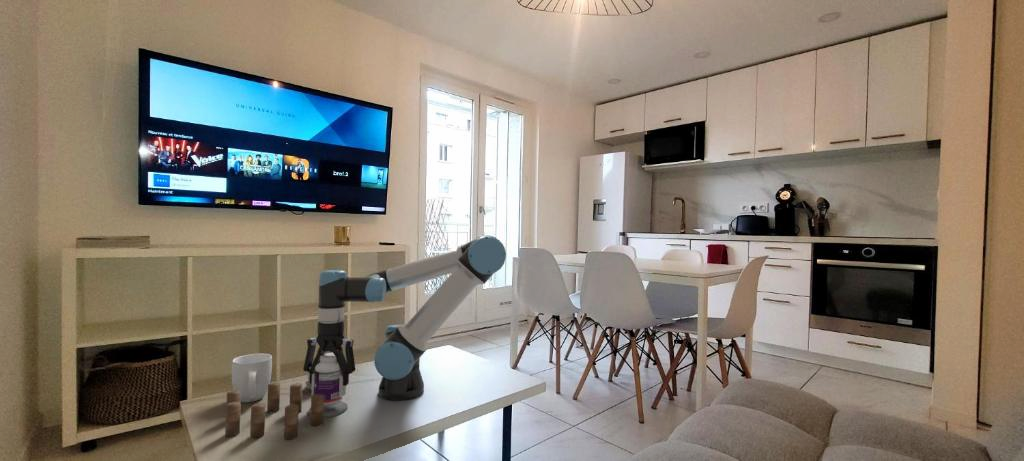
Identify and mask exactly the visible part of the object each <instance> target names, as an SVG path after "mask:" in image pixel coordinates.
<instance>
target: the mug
mask: <svg viewBox="0 0 1024 461" xmlns="http://www.w3.org/2000/svg"><path fill="white" fill-rule="evenodd" d="M231 364H232V365H231V385H232V391H233V390H240V402H241V403H252V402H257V401H260V400H261V399H263V397H264V396H265V395H266V393H268V384H270V383H271V379H272V369H273V367H272V366H273V356H272V354H270V353H261V352H260V353H250V354H245V355H241V356H237V357H235V358H234V359H233V360H232V361H231Z"/></svg>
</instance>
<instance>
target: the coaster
mask: <svg viewBox="0 0 1024 461" xmlns="http://www.w3.org/2000/svg"><path fill="white" fill-rule="evenodd" d="M348 406H349V405H348V403H347V402H344V401H342V400H341V401H340V402H339V403H337V404H335V405H331V406H323V419H326V418H332V417H333V418H334V417H337V416H341V415H342V414H344V413H345V412H347V410H348ZM307 414H308V416H309V417H311V407H309V409H308V410H307Z"/></svg>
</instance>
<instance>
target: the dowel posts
mask: <svg viewBox="0 0 1024 461" xmlns="http://www.w3.org/2000/svg"><path fill="white" fill-rule="evenodd" d="M310 396H311V395H310ZM302 397H303V384H302V383H301V382H300V383H299V382H298V383H292V384H290V385H289V405H286V406H285V407H284V419H283V420H284V421H283V422H284V423H283V424H284V426H283V428H284V429H283V440H285V441H292V440H294V439H297V438H298V434H299V432H298V431H299V413H301V412H302V404H303V402H302V400H303V399H302ZM280 399H281V382H279V381H274V382H270V384H268V389H267V404H266V403H265V402H259V403H255V404H252V405H251V406H250V428H249V429H250V431H249V437H250V439H251V440H256V439H260V438H263V437H264V436H265V431H266V430H265V427H266V426H265V425H266V424H265V423H266V422H265V420H266V412H267V413H269V414H271V413H272V414H273V413H277V412H279V411H280V403H281V402H280V401H281V400H280ZM323 401H324V394H321V393H318V394H314V395H312V396H311V397H310V408H311V416H310V419H309V420H310V422H309V423H310V424H309V425H310V427H320V426H322V425H323V422H324V418H323ZM241 403H242V402H240V390H233V389H232V390H229V391H227V392H226V406H225V428H224V429H225V430H224V431H225V432H224V435H225V438H231V437H236V436H238V435H240V432H241V409H242V407H241V405H242V404H241ZM266 405H267V406H266Z"/></svg>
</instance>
